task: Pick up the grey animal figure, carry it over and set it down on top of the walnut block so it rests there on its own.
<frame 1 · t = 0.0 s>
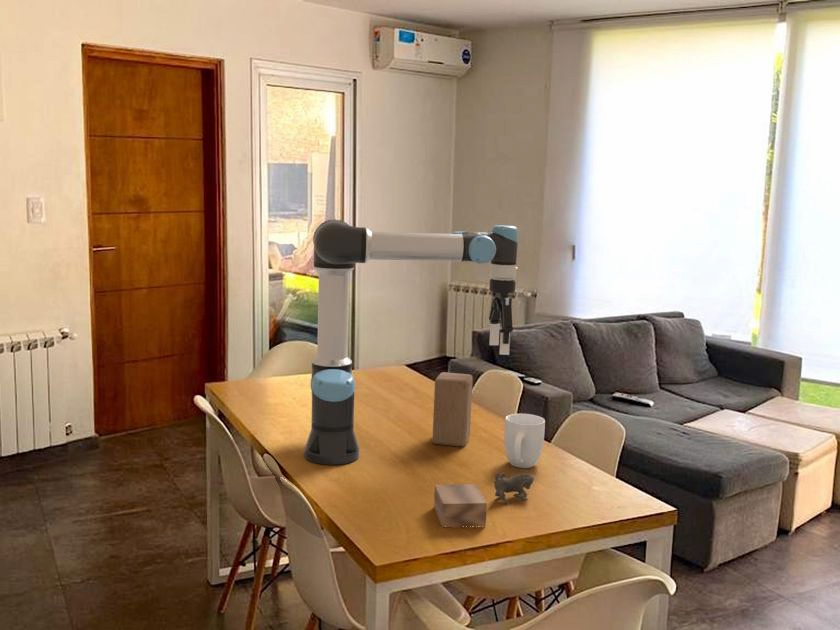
hand: (498, 349, 254), 28 cm above the table, fingers open, 13 cm apart
mug: (521, 466, 237), on the table
walnut block: (459, 518, 199), on the table
wooden block: (451, 441, 256), on the table
grey animal figure: (514, 499, 212), on the table
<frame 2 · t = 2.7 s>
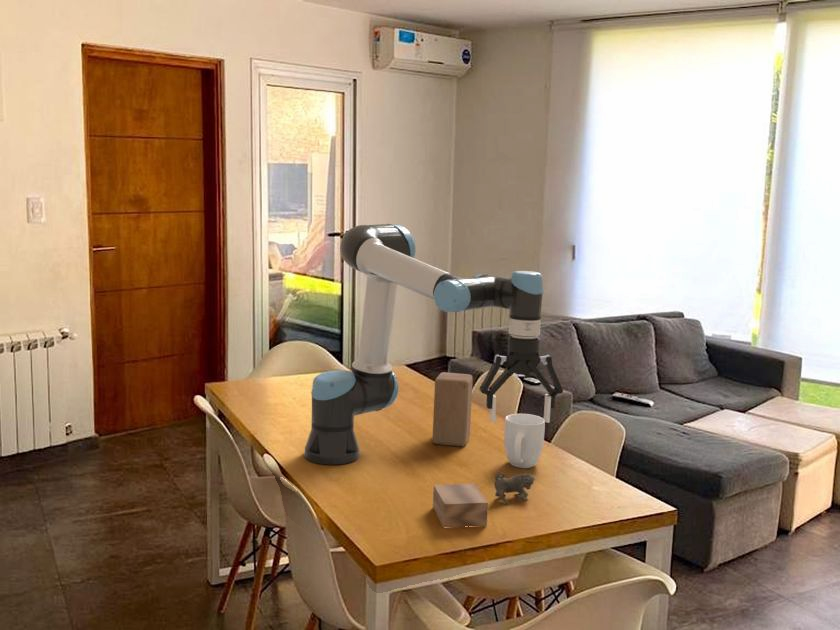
hand: (519, 421, 209), 20 cm above the table, fingers open, 13 cm apart
nothing on the table moved.
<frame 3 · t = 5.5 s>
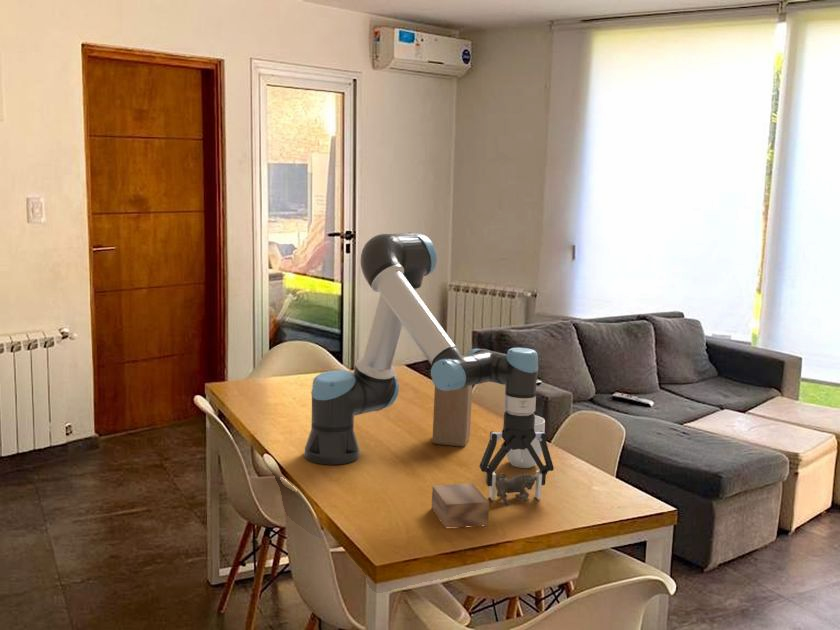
hand: (514, 497, 212), 0 cm above the table, fingers open, 11 cm apart
nothing on the table moved.
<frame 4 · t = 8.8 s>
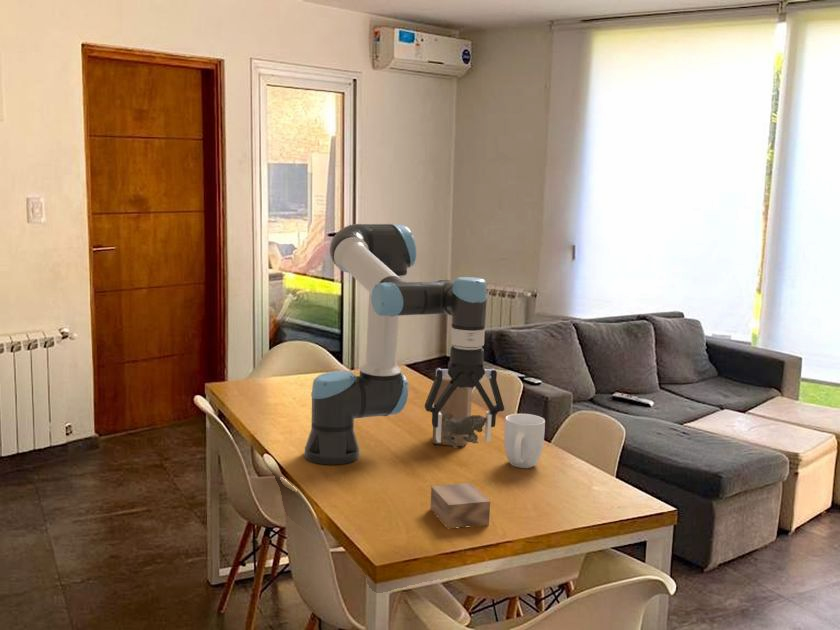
hand: (462, 440, 196), 18 cm above the table, fingers closed on grey animal figure, 11 cm apart
grey animal figure: (464, 442, 196), point 18 cm above the table, touching gripper
everything else where it was.
when the fingers open (7 cm above the table, at t = 11.7 s): grey animal figure drops 1 cm, resting on walnut block.
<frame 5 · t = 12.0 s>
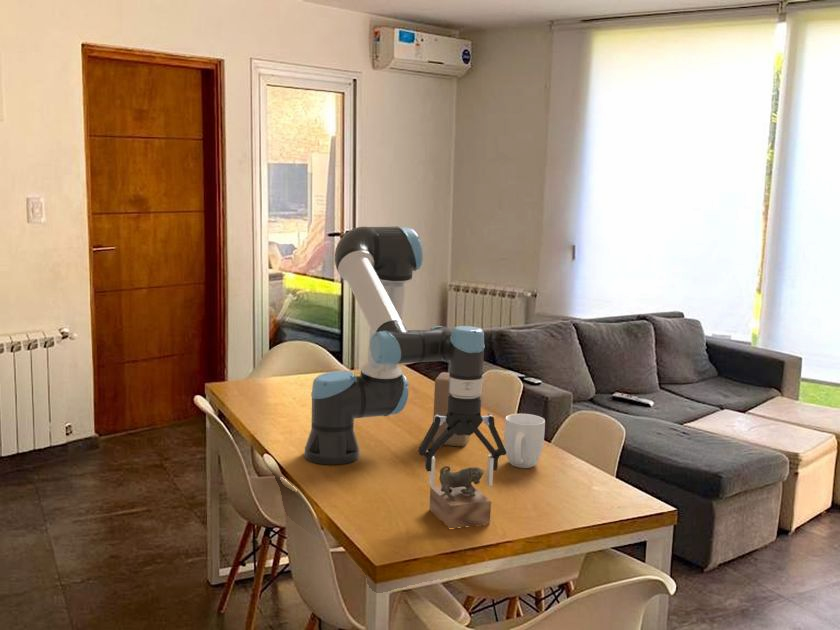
hand: (460, 484, 198), 8 cm above the table, fingers open, 13 cm apart
walnut block: (459, 518, 199), on the table, touching grey animal figure
grey animal figure: (461, 495, 198), point 5 cm above the table, touching walnut block
everything else where it was.
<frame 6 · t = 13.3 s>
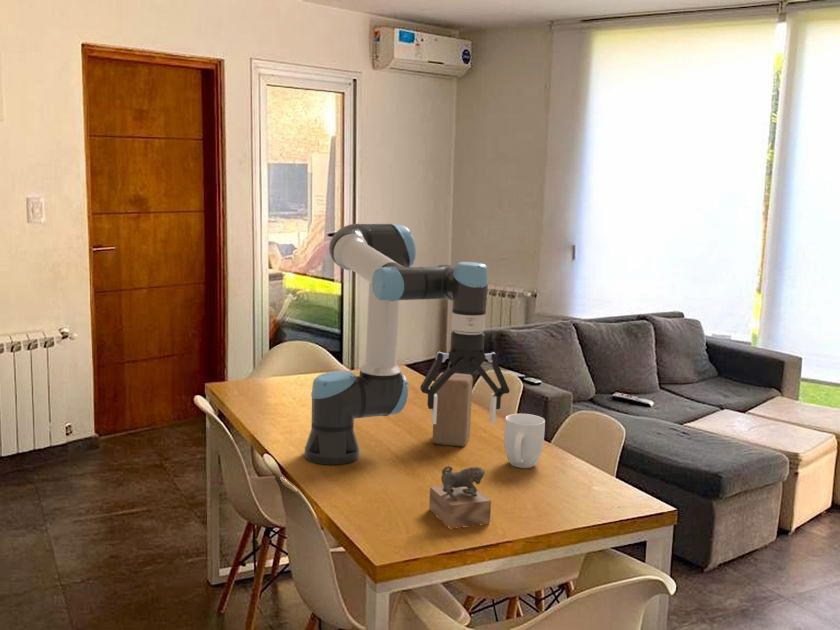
hand: (463, 422, 196), 23 cm above the table, fingers open, 13 cm apart
nothing on the table moved.
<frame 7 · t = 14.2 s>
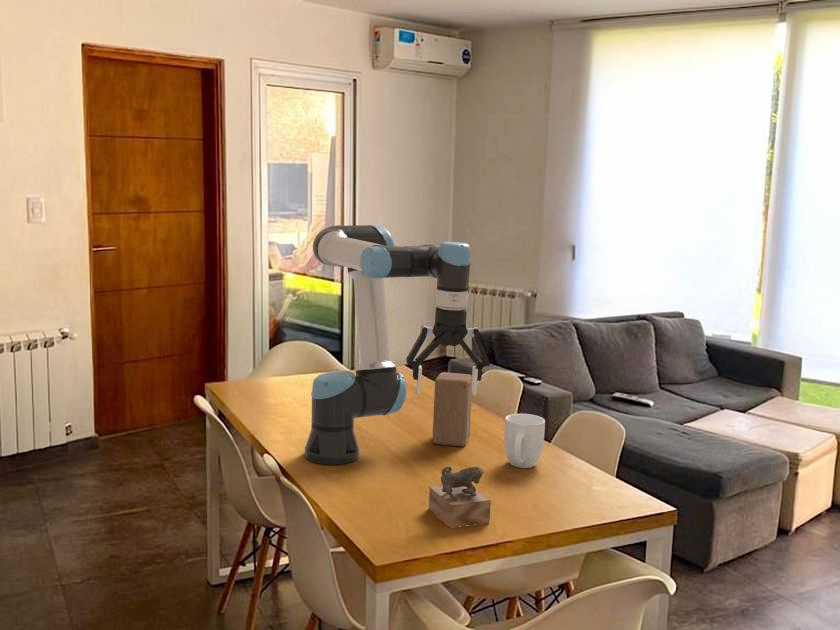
hand: (446, 393, 208), 26 cm above the table, fingers open, 13 cm apart
nothing on the table moved.
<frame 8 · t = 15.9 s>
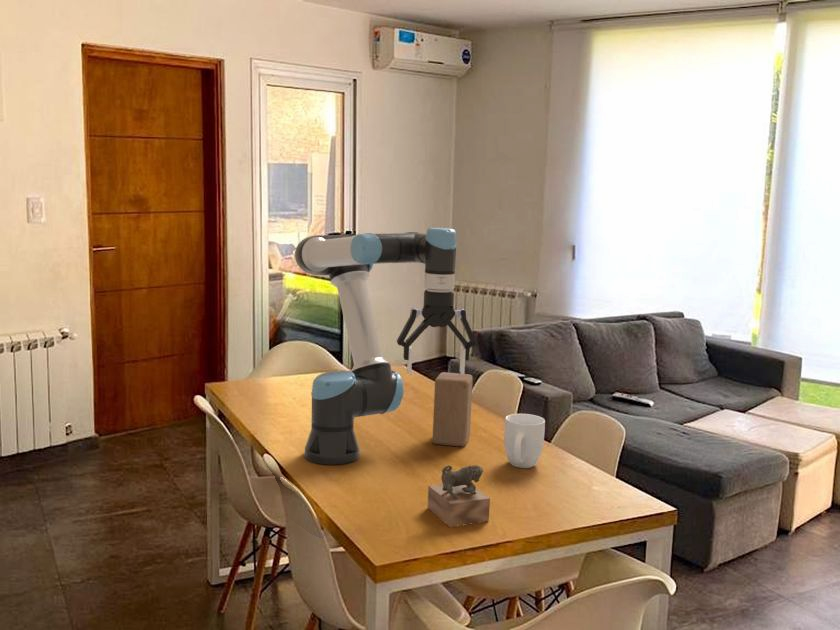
hand: (435, 372, 218), 29 cm above the table, fingers open, 13 cm apart
at the end: grey animal figure inside the target area on the walnut block (1.4 cm from its centre), point 5.8 cm above the walnut block's base; grey animal figure touching walnut block; the gripper is holding nothing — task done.
